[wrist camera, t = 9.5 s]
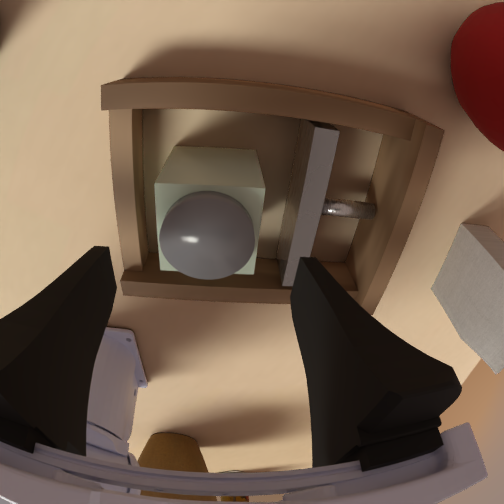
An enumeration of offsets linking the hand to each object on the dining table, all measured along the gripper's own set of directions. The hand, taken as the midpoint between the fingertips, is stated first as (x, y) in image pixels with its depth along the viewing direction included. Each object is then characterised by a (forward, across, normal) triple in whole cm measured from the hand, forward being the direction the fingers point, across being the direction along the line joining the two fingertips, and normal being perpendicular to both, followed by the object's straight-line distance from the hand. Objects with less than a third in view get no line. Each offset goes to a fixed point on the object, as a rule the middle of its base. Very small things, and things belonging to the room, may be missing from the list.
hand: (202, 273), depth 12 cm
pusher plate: (+8, -7, 0) cm, 10 cm away
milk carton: (+8, -21, +4) cm, 23 cm away
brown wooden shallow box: (+8, -3, 0) cm, 8 cm away
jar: (+8, 0, 0) cm, 8 cm away
